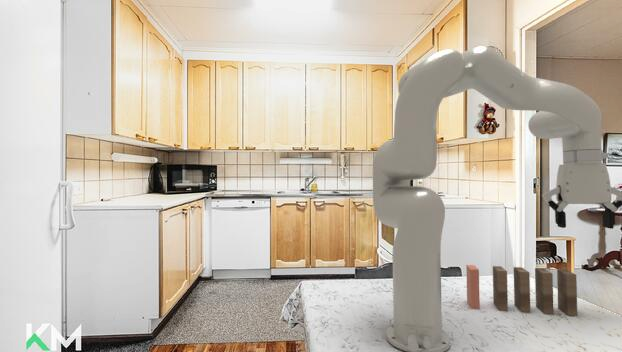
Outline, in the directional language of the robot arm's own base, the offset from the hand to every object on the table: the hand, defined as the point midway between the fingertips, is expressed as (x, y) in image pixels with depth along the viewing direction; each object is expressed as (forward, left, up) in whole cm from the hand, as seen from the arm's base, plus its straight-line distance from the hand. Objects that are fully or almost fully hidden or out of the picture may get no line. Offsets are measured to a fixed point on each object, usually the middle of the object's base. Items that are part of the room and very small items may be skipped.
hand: (584, 227), depth 82 cm
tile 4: (0, +19, -21) cm, 29 cm away
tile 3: (0, +14, -21) cm, 25 cm away
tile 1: (0, +4, -21) cm, 21 cm away
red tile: (0, +26, -21) cm, 33 cm away
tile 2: (0, +9, -21) cm, 23 cm away
